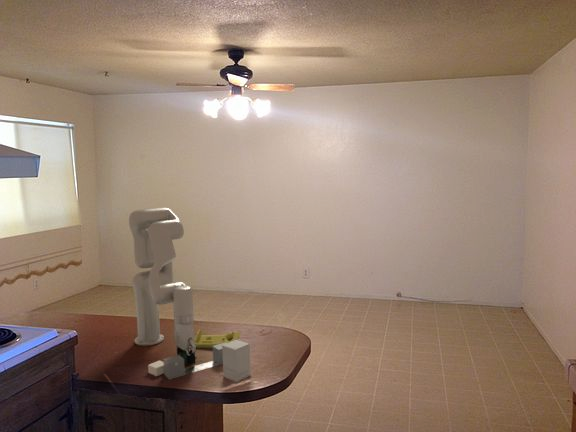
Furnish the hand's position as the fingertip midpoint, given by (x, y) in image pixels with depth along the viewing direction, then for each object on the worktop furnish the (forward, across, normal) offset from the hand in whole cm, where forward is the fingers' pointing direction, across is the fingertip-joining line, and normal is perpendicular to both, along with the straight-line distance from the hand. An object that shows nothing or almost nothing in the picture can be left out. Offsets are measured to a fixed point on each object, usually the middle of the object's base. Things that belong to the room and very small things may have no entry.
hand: (186, 360), depth 185 cm
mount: (+2, 0, 0) cm, 2 cm away
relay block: (+2, +2, -12) cm, 12 cm away
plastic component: (+2, -9, +18) cm, 21 cm away
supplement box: (+2, +23, +10) cm, 25 cm away
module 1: (+1, +8, -8) cm, 11 cm away
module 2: (+1, +8, +12) cm, 14 cm away
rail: (+2, +8, +2) cm, 8 cm away
